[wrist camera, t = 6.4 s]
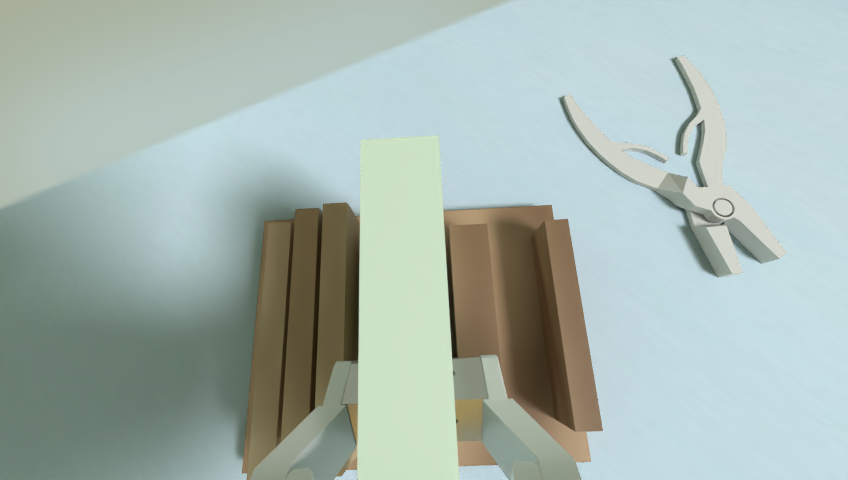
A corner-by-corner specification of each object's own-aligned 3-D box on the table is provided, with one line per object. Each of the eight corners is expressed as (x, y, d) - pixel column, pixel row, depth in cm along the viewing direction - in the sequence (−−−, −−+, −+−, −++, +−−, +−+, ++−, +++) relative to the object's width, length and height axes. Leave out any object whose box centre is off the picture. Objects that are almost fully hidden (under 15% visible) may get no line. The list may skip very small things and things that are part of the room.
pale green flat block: (410, 405, 19) (356, 503, 7) (406, 259, 22) (360, 140, 9) (448, 404, 19) (460, 500, 7) (440, 258, 22) (438, 135, 9)
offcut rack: (253, 466, 20) (183, 509, 15) (272, 227, 24) (223, 191, 19) (582, 455, 20) (636, 495, 14) (546, 212, 24) (577, 170, 18)
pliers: (694, 44, 25) (837, 236, 21) (680, 61, 27) (810, 243, 23) (565, 89, 25) (684, 295, 21) (557, 104, 26) (667, 299, 22)
